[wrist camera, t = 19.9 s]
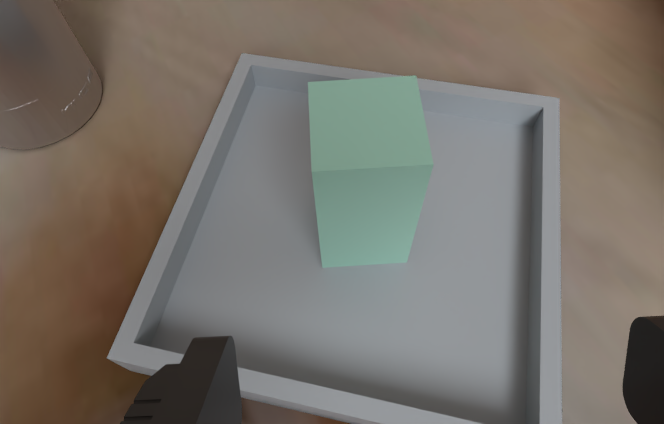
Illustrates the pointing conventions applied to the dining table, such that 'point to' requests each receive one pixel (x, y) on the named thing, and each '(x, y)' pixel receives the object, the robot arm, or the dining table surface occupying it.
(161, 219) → the dining table surface
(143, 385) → the robot arm
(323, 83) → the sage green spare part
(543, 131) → the tray
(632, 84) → the dining table surface
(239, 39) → the dining table surface
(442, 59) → the dining table surface
